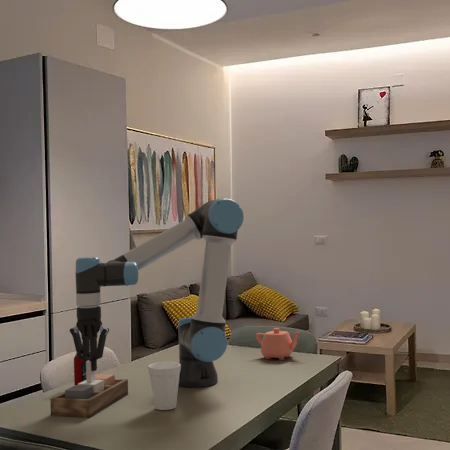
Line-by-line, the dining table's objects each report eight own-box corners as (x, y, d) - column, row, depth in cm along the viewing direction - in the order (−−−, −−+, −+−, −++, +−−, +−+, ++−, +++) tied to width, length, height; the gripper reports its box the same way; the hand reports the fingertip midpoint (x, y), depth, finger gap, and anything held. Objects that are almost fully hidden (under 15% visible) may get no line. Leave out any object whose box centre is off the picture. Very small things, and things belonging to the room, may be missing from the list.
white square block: (104, 392, 195) (104, 380, 196) (95, 397, 190) (95, 384, 190) (87, 391, 197) (87, 379, 197) (78, 396, 191) (77, 383, 191)
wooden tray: (128, 394, 204) (127, 379, 204) (90, 417, 179) (89, 400, 179) (92, 392, 208) (92, 377, 208) (50, 415, 183) (50, 398, 183)
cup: (169, 414, 180) (167, 370, 180) (142, 410, 185) (141, 367, 185) (188, 406, 188) (187, 363, 188) (162, 402, 193) (161, 360, 194)
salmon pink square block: (115, 386, 203) (114, 374, 203) (106, 391, 197) (106, 378, 197) (98, 386, 204) (98, 373, 204) (89, 390, 199) (89, 378, 199)
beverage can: (89, 390, 211) (88, 355, 211) (71, 389, 213) (70, 355, 213) (97, 385, 218) (96, 351, 218) (79, 384, 219) (78, 351, 219)
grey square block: (93, 399, 188) (92, 385, 188) (83, 404, 182) (82, 391, 183) (75, 398, 190) (75, 385, 190) (65, 403, 184) (64, 390, 184)
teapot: (297, 362, 245) (296, 332, 245) (250, 359, 253) (249, 330, 253) (307, 356, 257) (306, 326, 257) (262, 353, 265) (261, 325, 265)
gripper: (112, 304, 196) (114, 379, 195) (76, 304, 199) (78, 377, 199) (101, 307, 188) (103, 385, 188) (64, 307, 192) (66, 383, 192)
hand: (90, 381), depth 193 cm, fingers closed
